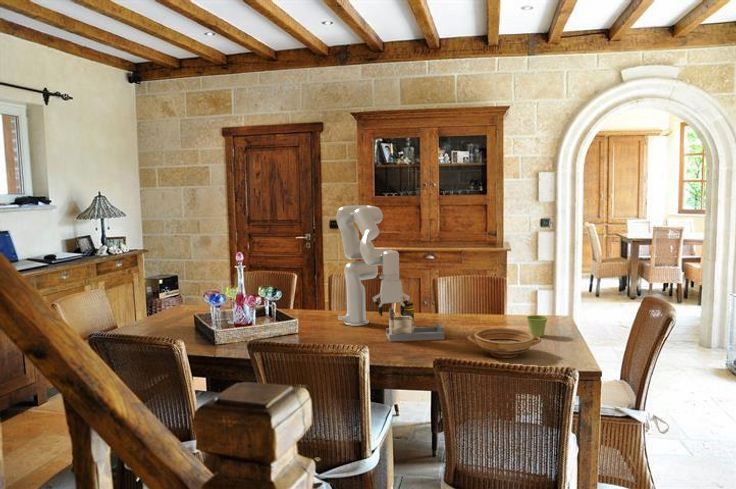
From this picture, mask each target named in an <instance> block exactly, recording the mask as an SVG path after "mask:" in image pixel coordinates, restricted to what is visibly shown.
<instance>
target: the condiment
mask: <svg viewBox="0 0 736 489" xmlns="http://www.w3.org/2000/svg"><path fill="white" fill-rule="evenodd" d="M401 316H411V317H412V319H413V320H414V321H415V309H414V303H413V302H412V301H408V303H407V304H406V305H405V306H404V313H403V315H401ZM414 327H418V326H417V325H414Z"/></svg>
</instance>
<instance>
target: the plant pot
mask: <svg viewBox="0 0 736 489" xmlns="http://www.w3.org/2000/svg"><path fill="white" fill-rule="evenodd" d="M525 319H526V320H527V323H528V329H529V331H528V332H529V333H531V334H533V335H534V336H535V337H540V338H543V337H544V336H545V331H546V330H545V329H546V323H547V320H549V318H548V317H547V316H544V315H541V314H540V315H539V314H538V315H537V314H535V315H527V316H526V317H525Z"/></svg>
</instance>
